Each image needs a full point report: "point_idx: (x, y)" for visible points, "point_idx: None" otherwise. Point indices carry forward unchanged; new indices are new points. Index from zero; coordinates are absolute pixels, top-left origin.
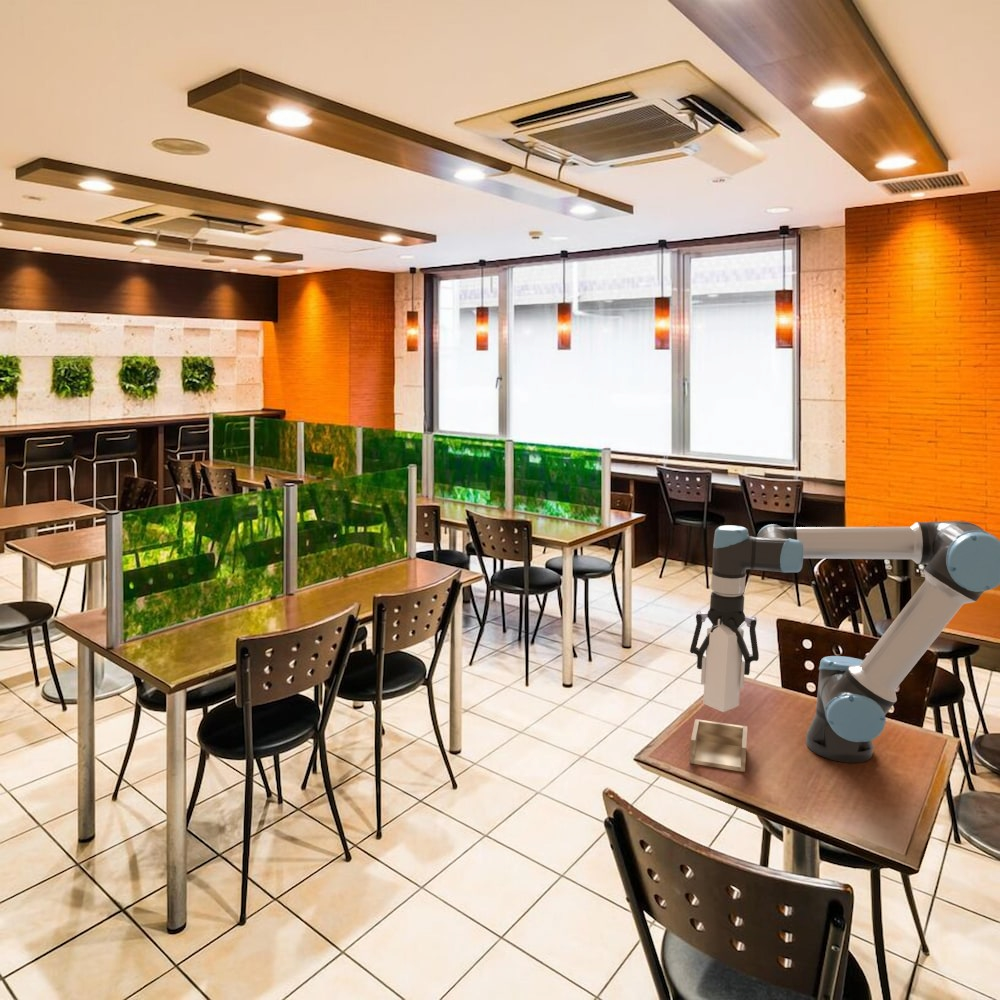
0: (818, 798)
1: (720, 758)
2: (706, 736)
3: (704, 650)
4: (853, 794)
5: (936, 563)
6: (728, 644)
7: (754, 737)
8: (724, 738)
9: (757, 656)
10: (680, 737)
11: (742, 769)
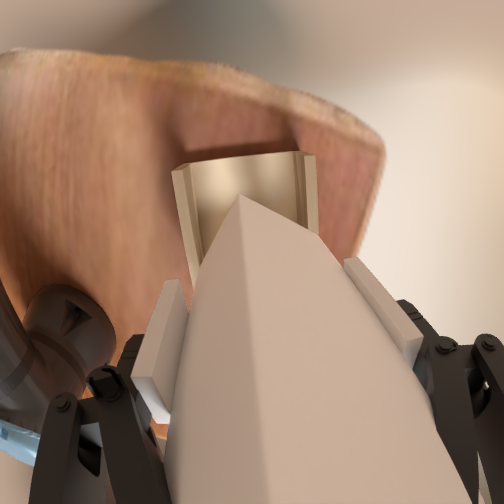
0: (53, 139)
1: (238, 183)
2: None
3: (438, 378)
4: (18, 187)
5: None
6: (254, 498)
7: None
8: None
9: (49, 415)
10: (333, 254)
11: (186, 163)
